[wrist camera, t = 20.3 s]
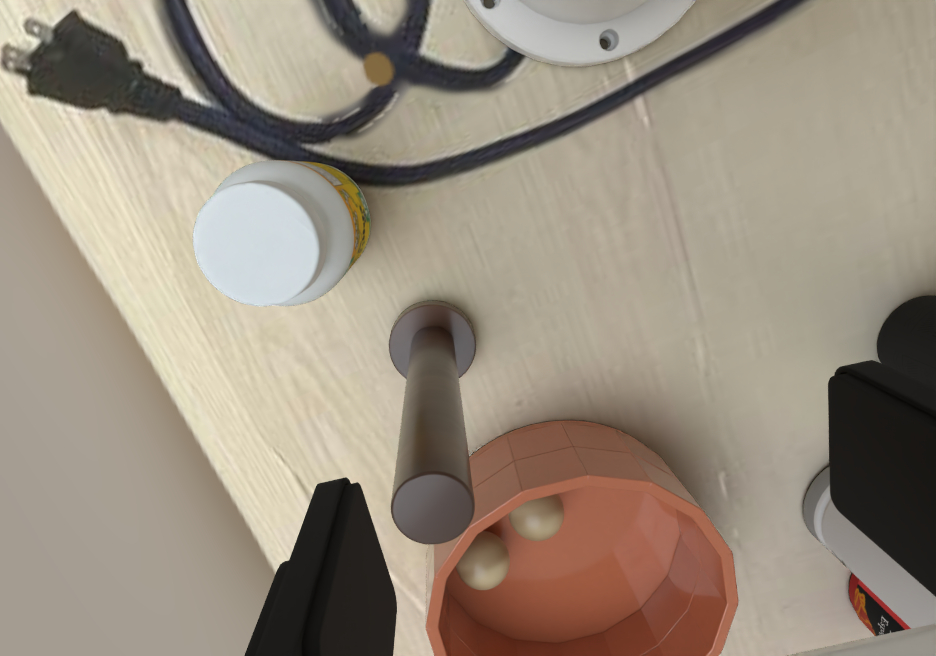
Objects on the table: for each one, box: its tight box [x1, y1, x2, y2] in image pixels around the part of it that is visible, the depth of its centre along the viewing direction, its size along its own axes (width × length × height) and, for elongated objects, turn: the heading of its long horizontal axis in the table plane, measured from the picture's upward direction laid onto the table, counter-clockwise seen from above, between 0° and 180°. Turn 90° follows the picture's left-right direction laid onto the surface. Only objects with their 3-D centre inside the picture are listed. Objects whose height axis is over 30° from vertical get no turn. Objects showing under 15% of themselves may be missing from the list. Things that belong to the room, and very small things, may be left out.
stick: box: [389, 300, 476, 544], centre depth 21 cm, size 4×4×15 cm
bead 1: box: [456, 531, 510, 590], centre depth 30 cm, size 3×3×3 cm
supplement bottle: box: [193, 160, 371, 306], centre depth 22 cm, size 5×5×10 cm
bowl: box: [426, 420, 738, 656], centre depth 30 cm, size 15×15×6 cm
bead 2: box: [508, 494, 564, 541], centre depth 29 cm, size 3×3×3 cm
